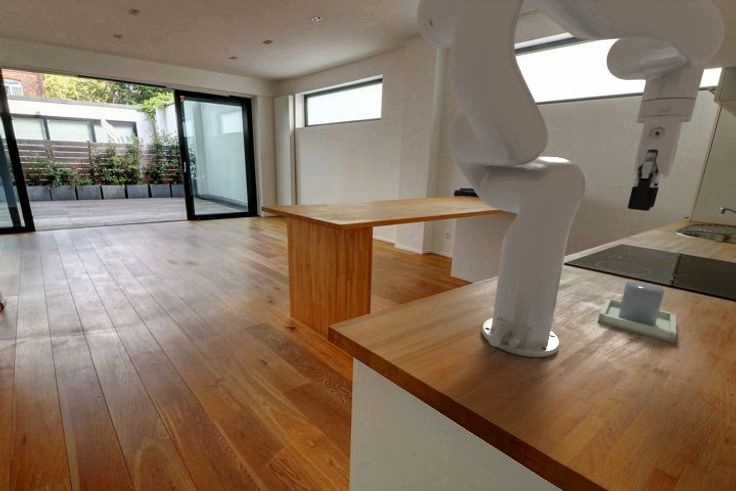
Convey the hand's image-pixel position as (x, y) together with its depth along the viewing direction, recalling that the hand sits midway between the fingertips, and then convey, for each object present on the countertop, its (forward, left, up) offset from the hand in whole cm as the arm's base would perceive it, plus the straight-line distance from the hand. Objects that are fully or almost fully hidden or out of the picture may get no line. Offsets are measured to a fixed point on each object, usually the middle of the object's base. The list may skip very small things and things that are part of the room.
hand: (640, 208), depth 65 cm
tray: (+1, -3, -23) cm, 23 cm away
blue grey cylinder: (+1, -3, -22) cm, 23 cm away
